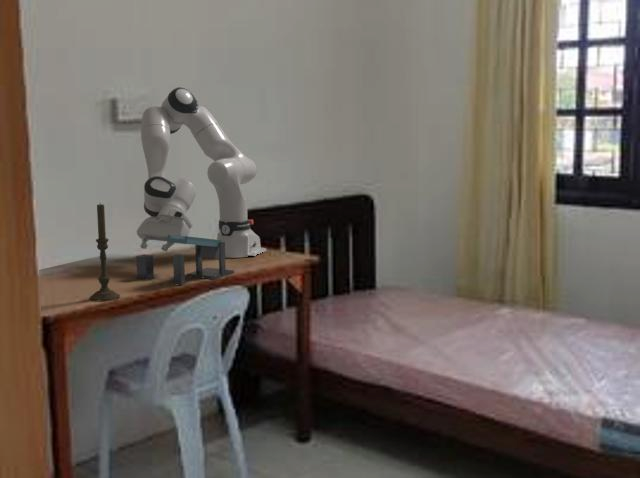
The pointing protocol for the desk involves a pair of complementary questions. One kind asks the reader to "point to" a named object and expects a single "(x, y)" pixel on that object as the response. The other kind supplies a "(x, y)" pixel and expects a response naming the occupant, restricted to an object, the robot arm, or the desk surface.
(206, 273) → the beam stand
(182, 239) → the beam
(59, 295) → the desk surface
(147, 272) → the block
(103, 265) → the candlestick holder
